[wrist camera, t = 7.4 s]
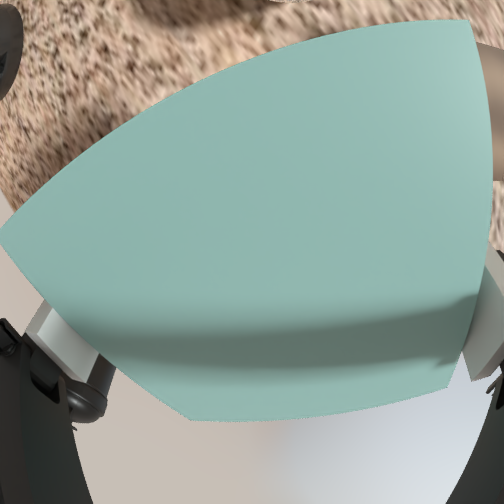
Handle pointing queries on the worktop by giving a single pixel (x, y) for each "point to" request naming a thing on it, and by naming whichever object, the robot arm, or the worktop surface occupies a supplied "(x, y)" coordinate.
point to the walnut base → (494, 101)
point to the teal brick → (281, 228)
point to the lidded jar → (290, 1)
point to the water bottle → (89, 392)
